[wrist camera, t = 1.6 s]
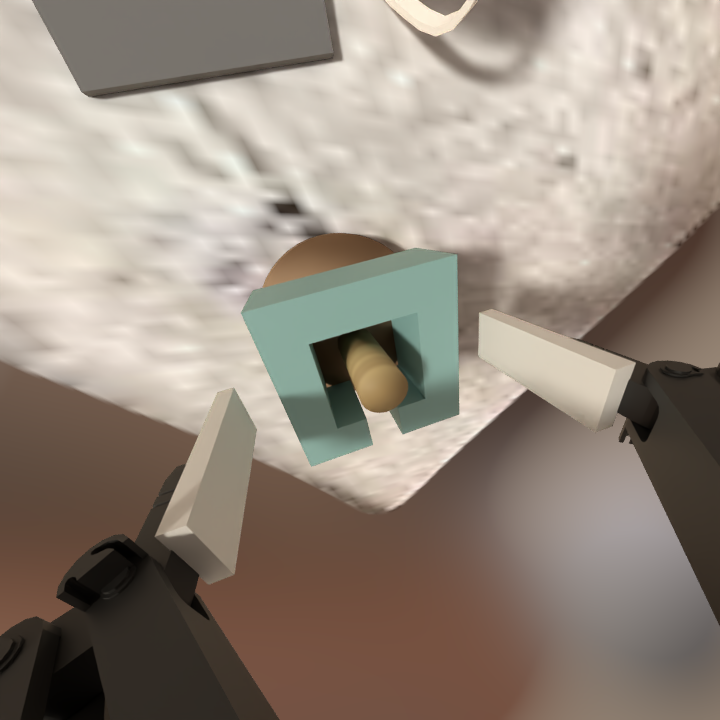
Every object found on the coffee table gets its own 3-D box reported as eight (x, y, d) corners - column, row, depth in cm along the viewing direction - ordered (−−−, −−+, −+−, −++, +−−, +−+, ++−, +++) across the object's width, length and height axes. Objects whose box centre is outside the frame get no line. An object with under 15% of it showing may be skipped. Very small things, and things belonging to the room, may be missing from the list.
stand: (228, 257, 16) (159, 293, 7) (402, 214, 18) (520, 202, 9) (290, 400, 22) (294, 518, 13) (417, 360, 24) (498, 441, 15)
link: (252, 290, 13) (240, 313, 10) (415, 247, 14) (457, 254, 11) (306, 419, 18) (311, 466, 14) (427, 379, 19) (459, 414, 15)
